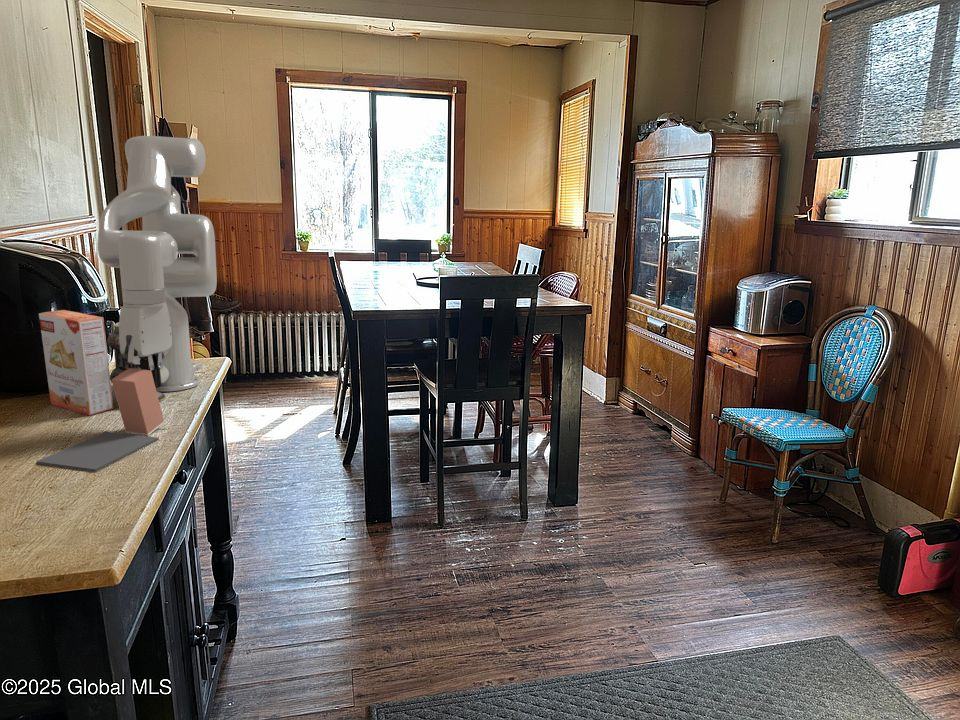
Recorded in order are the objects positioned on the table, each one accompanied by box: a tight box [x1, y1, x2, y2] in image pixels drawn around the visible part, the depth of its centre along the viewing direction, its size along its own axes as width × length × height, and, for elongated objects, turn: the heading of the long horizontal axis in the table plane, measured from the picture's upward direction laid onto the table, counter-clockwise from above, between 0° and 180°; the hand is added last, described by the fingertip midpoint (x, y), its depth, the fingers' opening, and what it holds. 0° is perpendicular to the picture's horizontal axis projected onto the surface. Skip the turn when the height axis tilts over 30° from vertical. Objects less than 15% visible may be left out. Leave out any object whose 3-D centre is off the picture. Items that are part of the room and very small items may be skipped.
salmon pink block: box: [110, 368, 165, 436], centre depth 130 cm, size 5×5×12 cm
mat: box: [36, 430, 159, 473], centre depth 122 cm, size 16×12×1 cm
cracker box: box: [38, 309, 114, 417], centre depth 143 cm, size 14×6×21 cm, turn 62°
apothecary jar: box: [106, 322, 169, 402], centre depth 150 cm, size 12×12×18 cm
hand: (151, 387), depth 134 cm, fingers closed
